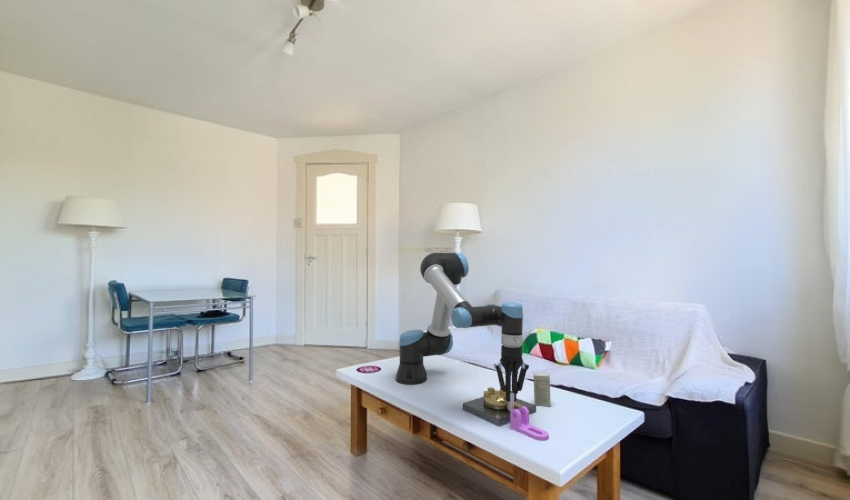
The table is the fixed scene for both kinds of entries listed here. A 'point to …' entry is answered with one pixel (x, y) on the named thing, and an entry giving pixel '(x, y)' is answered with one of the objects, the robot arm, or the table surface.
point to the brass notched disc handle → (497, 399)
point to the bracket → (526, 424)
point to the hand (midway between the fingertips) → (510, 410)
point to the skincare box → (542, 389)
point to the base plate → (493, 411)
